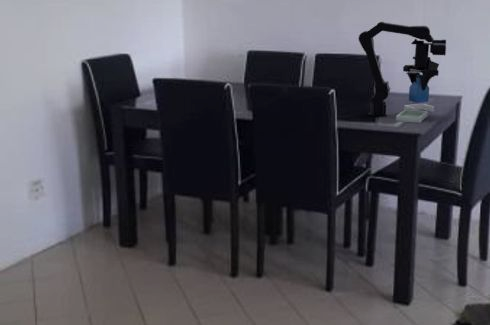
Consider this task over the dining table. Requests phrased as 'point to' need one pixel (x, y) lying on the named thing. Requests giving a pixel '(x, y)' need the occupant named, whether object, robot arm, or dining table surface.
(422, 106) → the bay
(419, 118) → the tray
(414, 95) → the perfume bottle
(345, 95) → the dining table surface
